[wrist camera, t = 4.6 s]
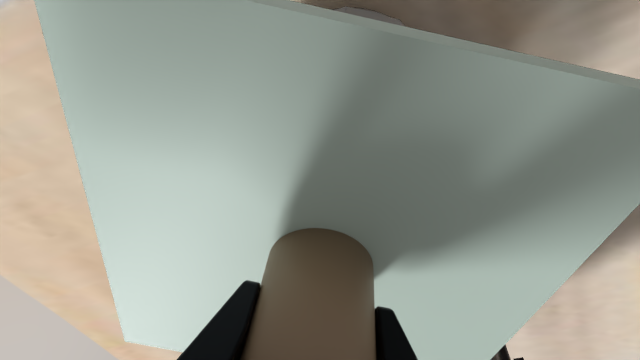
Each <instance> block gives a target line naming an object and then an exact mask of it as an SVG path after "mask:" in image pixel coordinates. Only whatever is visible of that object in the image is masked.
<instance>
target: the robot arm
mask: <svg viewBox="0 0 640 360" xmlns="http://www.w3.org/2000/svg"><path fill="white" fill-rule="evenodd" d="M259 290H260V283H259V282H254V281H249V280H246V281H244V282H243V283H242V284H241V285H240V286H239V287H238V289H237V290H236V291H235V292H234V293H233V294H232V296H231V297H230V298H229V299H228V300H227V301H226V303H225V304H224V305H223V306H222V307H221V308H220V310H219V311H218V312H217V313H216V314H215V315H214V317H213V318H212V319H211V320H210V321H209V322H208V324H207V325H206V326H205V327H204V328H203V329H202V331H201V332H200V333H199V334H198V335H197V336H196V338H195V339H194V340H193V341H192V342H191V344H190V345H189V346H188V347H187V348H186V349H185V351H184V352H183V353H182V354H181V355H180V356H179V358H178V359H177V360H240V357H241V354H242V350H243V347H244V344H245V340H246V337H247V334H248V330H249V326H250V323H251V319H252V316H253V312H254V308H255V305H256V301H257V298H258V294H259ZM375 333H376V360H418V358H417V356H416V354H415V352H414V351H413V349H412V347H411V345H410V343H409V341H408V339H407V337H406V335H405V333H404V331H403V329H402V327H401V325H400V323H399V321H398V319H397V317H396V315H395V313H394V311H393V310H392V309H390V308H386V307H381V306H377V307H376V308H375ZM491 360H511V359H510V357H509V354H508V351H507V348H506V345H504V346H503V347H502V348H501V349H500V350H499V351H498V352H497V353H496V354H495V355H494V356H493V357H492V359H491ZM514 360H524V359H523V357H522V358H516V359H514Z"/></svg>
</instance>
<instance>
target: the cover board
mask: <svg viewBox="0 0 640 360" xmlns="http://www.w3.org/2000/svg"><path fill="white" fill-rule="evenodd" d="M34 1H35V5H36V8H37V12H38V16H39V20H40V24H41V27H42V31H43V35H44V39H45V42H46V46H47V50H48V54H49V57H50V61H51V65H52V69H53V72H54V76H55V80H56V84H57V87H58V91H59V95H60V99H61V103H62V106H63V110H64V114H65V118H66V121H67V125H68V129H69V133H70V136H71V140H72V144H73V148H74V151H75V155H76V159H77V163H78V167H79V170H80V174H81V178H82V182H83V185H84V189H85V193H86V197H87V200H88V204H89V208H90V212H91V215H92V219H93V223H94V227H95V230H96V234H97V238H98V242H99V246H100V249H101V253H102V257H103V261H104V264H105V268H106V272H107V276H108V279H109V283H110V287H111V291H112V294H113V298H114V302H115V306H116V310H117V313H118V317H119V321H120V325H121V328H122V332H123V336H124V340H125V341H126V342H131V343H136V344H142V345H147V346H152V347H157V348H163V349H168V350H173V351H179V352H184V351H185V349H186V348H187V347H188V346H189V345H190V344H191V342H192V341H193V340H194V339H195V338H196V336H197V335H198V334H199V333H200V332H201V331H202V329H203V328H204V327H205V326H206V325H207V324H208V322H209V321H210V320H211V319H212V318H213V317H214V315H215V314H216V313H217V312H218V311H219V310H220V308H221V307H222V306H223V305H224V304H225V303H226V301H227V300H228V299H229V298H230V297H231V296H232V294H233V293H234V292H235V291H236V290H237V289H238V287H239V286H240V285H241V284H242V283H243V282H244V281H246V280H249V281H254V282H259V283H260V290H259V294H258V298H257V301H256V305H255V308H254V312H253V316H252V319H251V323H250V326H249V330H248V334H247V337H246V340H245V344H244V347H243V350H242V354H241V357H240V360H376V333H375V308H376V307H377V306H381V307H386V308H390V309H392V310H393V311H394V313H395V315H396V317H397V319H398V321H399V323H400V325H401V327H402V329H403V331H404V333H405V335H406V337H407V339H408V341H409V343H410V345H411V347H412V349H413V351H414V352H415V354H416V356H417V358H418V360H491V359H492V357H493V356H494V355H495V354H496V353H497V352H498V351H499V350H500V349H501V348H502V347H503V346H504V345H505V344H506V343H507V342H508V341H509V340H510V339H511V338H512V337H513V336H514V334H515V333H516V332H517V331H518V330H519V329H520V328H521V327H522V326H523V325H524V324H525V323H526V322H527V321H528V320H529V319H530V318H531V317H532V316H533V315H534V314H535V313H536V312H537V310H538V309H539V308H540V307H541V306H542V305H543V304H544V303H545V302H546V301H547V300H548V299H549V298H550V297H551V296H552V295H553V294H554V293H555V292H556V291H557V290H558V289H559V287H560V286H561V285H562V284H563V283H564V282H565V281H566V280H567V279H568V278H569V277H570V276H571V275H572V274H573V273H574V272H575V271H576V270H577V269H578V268H579V267H580V266H581V264H582V263H583V262H584V261H585V260H586V259H587V258H588V257H589V256H590V255H591V254H592V253H593V252H594V251H595V250H596V249H597V248H598V247H599V246H600V245H601V244H602V243H603V242H604V240H605V239H606V238H607V237H608V236H609V235H610V234H611V233H612V232H613V231H614V230H615V229H616V228H617V227H618V226H619V225H620V224H621V223H622V222H623V221H624V220H625V219H626V217H627V216H628V215H629V214H630V213H631V212H632V211H633V210H634V209H635V208H636V207H637V206H638V205H639V204H640V80H639V79H635V78H630V77H626V76H622V75H617V74H613V73H608V72H604V71H599V70H595V69H591V68H586V67H582V66H577V65H573V64H568V63H564V62H560V61H555V60H551V59H546V58H542V57H538V56H533V55H529V54H524V53H520V52H515V51H511V50H507V49H502V48H498V47H493V46H489V45H484V44H480V43H476V42H471V41H467V40H462V39H458V38H454V37H449V36H445V35H440V34H436V33H431V32H427V31H423V30H418V29H414V28H409V27H405V26H400V25H396V24H392V23H387V22H383V21H378V20H374V19H370V18H365V17H361V16H356V15H352V14H347V13H343V12H339V11H334V10H330V9H325V8H321V7H316V6H312V5H308V4H303V3H299V2H294V1H290V0H34Z"/></svg>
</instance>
